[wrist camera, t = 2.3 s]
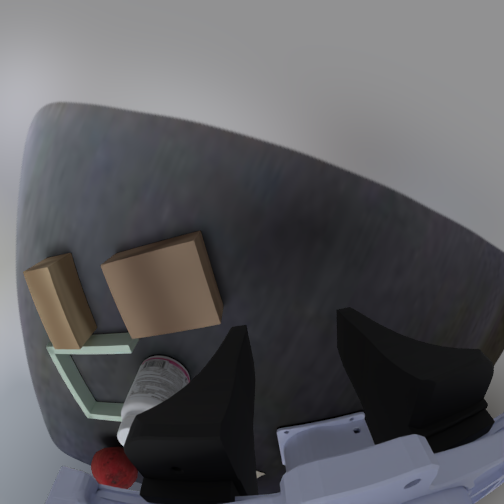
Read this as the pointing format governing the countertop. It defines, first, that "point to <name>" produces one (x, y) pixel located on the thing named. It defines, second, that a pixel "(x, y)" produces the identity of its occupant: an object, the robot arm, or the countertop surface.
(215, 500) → the robot arm
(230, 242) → the countertop surface
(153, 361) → the pill bottle
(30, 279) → the block
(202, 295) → the tan cardboard block
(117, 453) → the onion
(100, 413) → the corral
